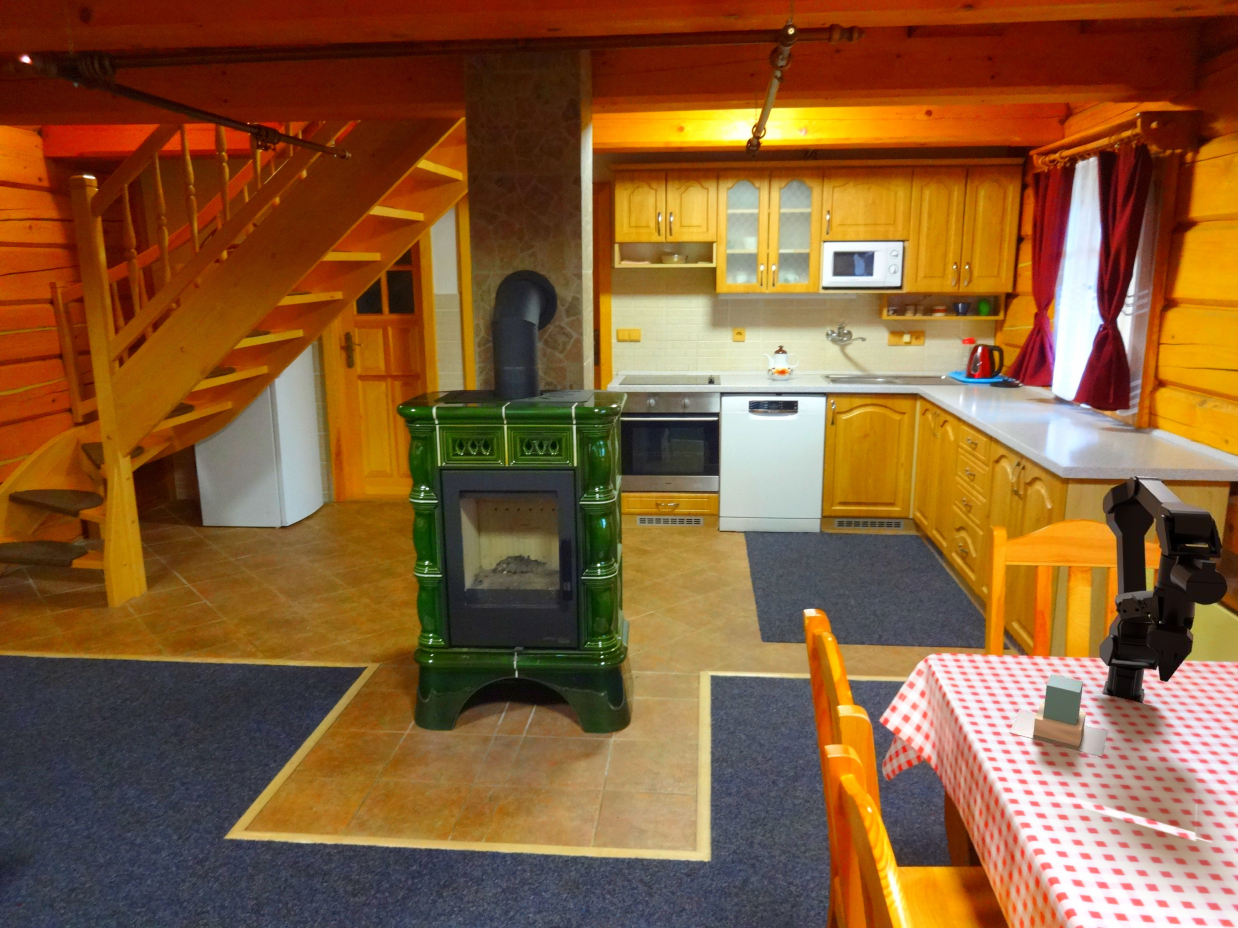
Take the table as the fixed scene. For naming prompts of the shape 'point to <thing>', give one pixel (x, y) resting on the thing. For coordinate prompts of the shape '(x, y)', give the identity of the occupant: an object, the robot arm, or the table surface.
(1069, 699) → the teal block
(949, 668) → the table surface
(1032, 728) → the baseplate
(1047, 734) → the maple base block
